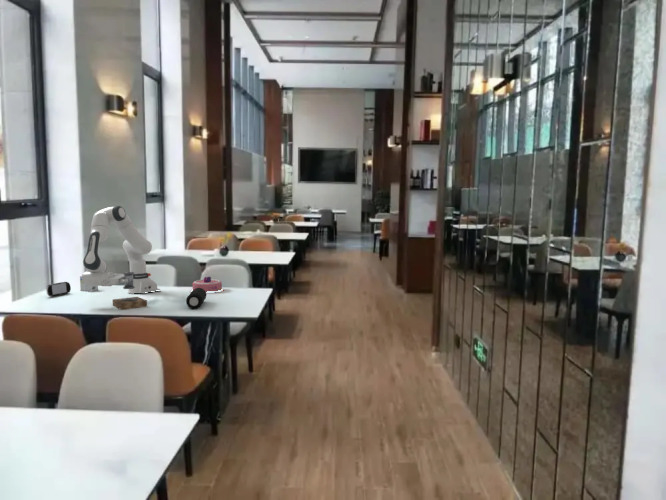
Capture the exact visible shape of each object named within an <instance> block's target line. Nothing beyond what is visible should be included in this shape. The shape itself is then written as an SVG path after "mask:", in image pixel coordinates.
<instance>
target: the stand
mask: <svg viewBox="0 0 666 500" xmlns="http://www.w3.org/2000/svg"><path fill="white" fill-rule="evenodd" d="M112 306H113V307H115V308H117V309H120V310H130V309H138V308H146V306H147V307H148V300H147V299H144V298H141V297H140V296H131V297H123V298H114V299H112Z"/></svg>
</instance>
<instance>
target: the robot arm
mask: <svg viewBox="0 0 666 500" xmlns="http://www.w3.org/2000/svg"><path fill="white" fill-rule="evenodd" d="M112 224H113V225H114V227H115V228H116V230H117V231H118V233H119V235H120V236H121V237H122V238H123V239H124V241H123V243H122V249H123V250H124V251H125V253H126V256H127V259H128V264H129V272H134V274H133V286H134V287H135V288H134V289H128V291H127V293H128V294H134V293H145V292H151V291H156V290H161V288H158V284H157V282H156V281H155V280H154V279H152V278H150V277H151V276H152V274H151V273H150V272H149V273H148V272H147V263H146V261H145V259H144V258H143V255H147V254H150V252H152V249H153V244H152V243H151V241H150V240H148V239H147V238H145V237H144V236H143V235H142V233H140V232H139V230H138V229H137V228H136V226H135V225H134V223H133V221H132V219H131V218H130V217H129V215H128V214H127V212H126V210H125V208H123V207H122V206H121V205H115V206H108V207H106V208H105V207H104V208H103V209H98V210H97V211H95V212H94V213H93V217H92V219H91V225H90V235H89V238H88V244H87V250H86V254H85V256H84V258H83V260H82V263H83V267H84V268H86V271H84V272H83V273H82V274H81V276H82V281H83V283H84V284H85V285H87V286H98V287H99V286H101V287H112V286H113V285H115V286H116V285H119V284H122V283H124V282H128V281H129V279H124V274H123V273H116V272H109V271H108V272H107V268H108V267H107V266H108V265H107V263H106V261H104V260H103V259H102V258H101V257H100V255H99V248H100V242H105V241H106V240H107V239H108V238H109V235H110V225H112ZM134 295H135V294H134Z"/></svg>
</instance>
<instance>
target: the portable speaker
mask: <svg viewBox="0 0 666 500" xmlns="http://www.w3.org/2000/svg"><path fill="white" fill-rule="evenodd" d="M206 299H207V294H206V292H205V290H204V289H202V288H196V289H194V290H193V291H192V292H189V294H188V295H187V297H186V299H185V302H186V306H188V308H190V309H192V308H197V309H199V308H200V307H201V306H202V305H203V304H204V301H205V300H206ZM198 307H199V308H198Z"/></svg>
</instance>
